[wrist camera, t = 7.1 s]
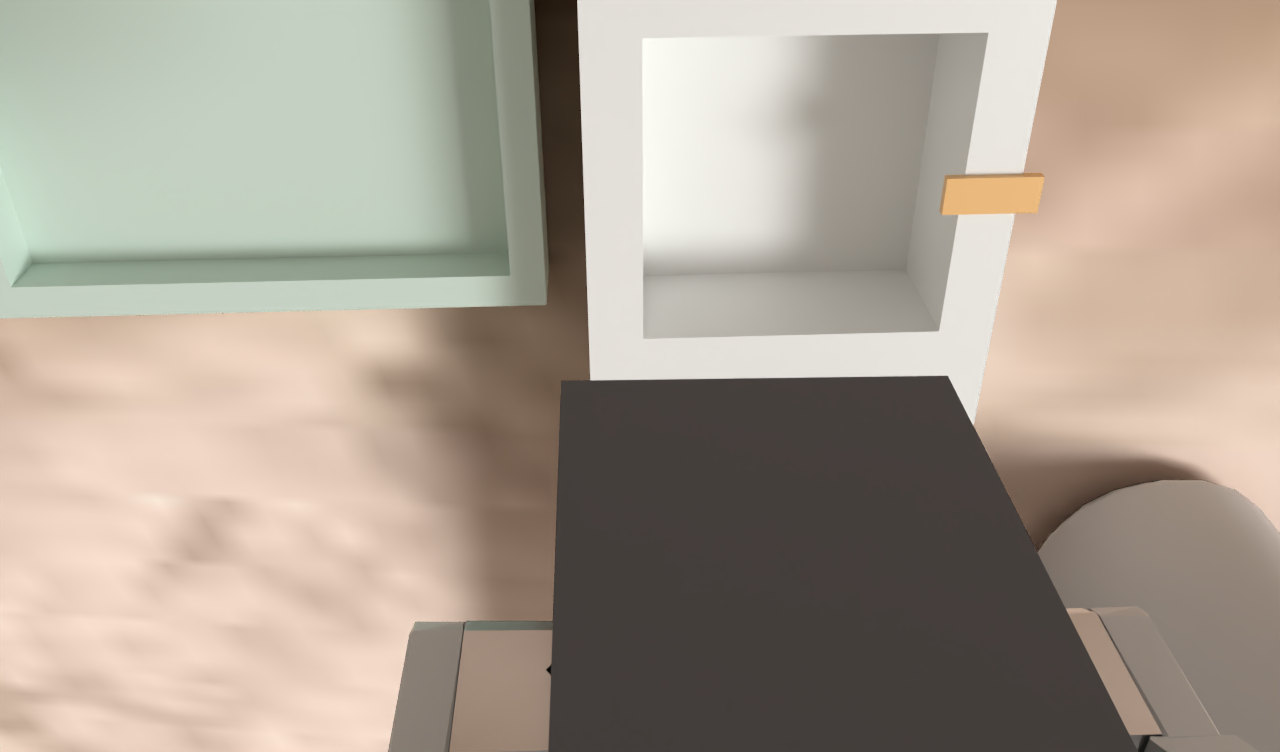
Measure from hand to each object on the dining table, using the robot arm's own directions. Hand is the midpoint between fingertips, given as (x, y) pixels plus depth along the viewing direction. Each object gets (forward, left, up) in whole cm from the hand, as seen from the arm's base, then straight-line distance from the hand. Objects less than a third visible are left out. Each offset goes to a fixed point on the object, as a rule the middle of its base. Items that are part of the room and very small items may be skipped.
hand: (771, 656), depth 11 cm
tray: (-2, -9, -17) cm, 20 cm away
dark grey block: (0, 0, -2) cm, 2 cm away
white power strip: (+8, +3, -17) cm, 19 cm away
